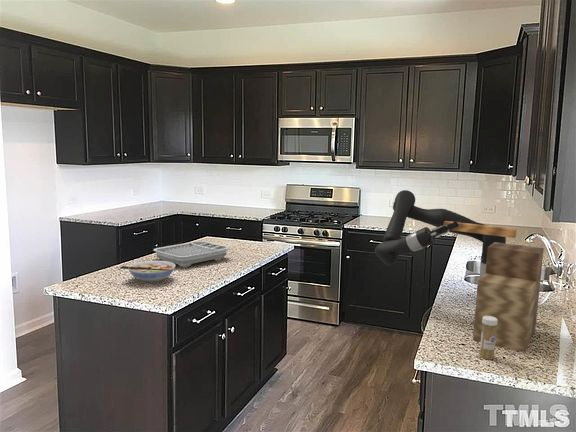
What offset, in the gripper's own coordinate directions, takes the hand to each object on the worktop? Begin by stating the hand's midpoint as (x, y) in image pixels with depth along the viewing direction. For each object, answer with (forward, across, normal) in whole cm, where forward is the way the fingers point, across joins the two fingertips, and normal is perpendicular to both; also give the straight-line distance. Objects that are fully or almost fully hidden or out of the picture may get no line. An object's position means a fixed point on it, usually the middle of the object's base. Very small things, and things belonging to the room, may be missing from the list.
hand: (458, 223), depth 185 cm
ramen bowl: (-136, -40, -32) cm, 145 cm away
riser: (-1, -6, +44) cm, 45 cm away
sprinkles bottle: (-2, -30, +44) cm, 53 cm away
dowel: (+5, 0, +6) cm, 8 cm away
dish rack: (-149, +2, -40) cm, 155 cm away
